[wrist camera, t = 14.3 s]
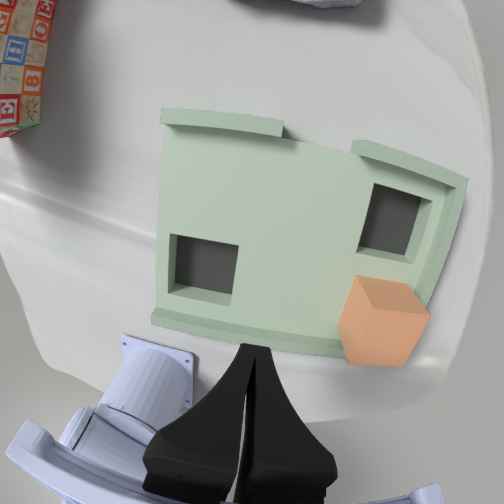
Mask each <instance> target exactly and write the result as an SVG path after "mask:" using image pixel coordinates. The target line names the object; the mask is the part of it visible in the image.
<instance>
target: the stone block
mask: <svg viewBox="0 0 504 504" xmlns="http://www.w3.org/2000/svg"><path fill="white" fill-rule="evenodd" d="M291 1H294V2H298V3H304V4H308V5H311V6H314V7H316V8H321V9H323V8H330V7H355V6H357V5H359V4H360V3H361V2H362V0H291Z"/></svg>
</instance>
